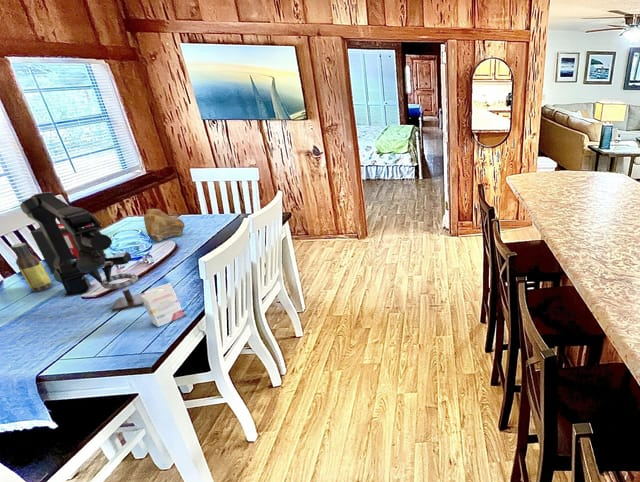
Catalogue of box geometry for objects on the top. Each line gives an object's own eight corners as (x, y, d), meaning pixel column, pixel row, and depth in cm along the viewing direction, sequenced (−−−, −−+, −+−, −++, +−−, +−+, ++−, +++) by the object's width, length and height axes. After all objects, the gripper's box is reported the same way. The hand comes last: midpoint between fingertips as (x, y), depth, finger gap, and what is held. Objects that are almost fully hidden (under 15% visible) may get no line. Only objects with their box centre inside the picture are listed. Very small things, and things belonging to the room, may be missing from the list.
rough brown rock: (187, 241, 207) (181, 214, 202) (146, 246, 198) (140, 218, 192) (186, 229, 224) (181, 204, 219) (149, 232, 215) (142, 206, 210)
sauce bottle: (57, 284, 164) (35, 241, 155) (43, 292, 158) (19, 248, 150) (41, 284, 163) (19, 241, 155) (26, 292, 158) (2, 248, 149)
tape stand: (112, 311, 147) (106, 297, 144) (119, 299, 154) (113, 286, 152) (142, 305, 151) (137, 292, 148) (147, 294, 158) (142, 281, 155)
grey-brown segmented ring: (97, 291, 142) (96, 287, 141) (107, 279, 150) (105, 274, 149) (134, 287, 146) (133, 282, 145) (141, 275, 155) (140, 270, 154)
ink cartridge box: (178, 312, 147) (165, 278, 141) (184, 316, 145) (172, 282, 139) (151, 323, 141) (137, 288, 134) (157, 327, 138) (143, 292, 132)
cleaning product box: (51, 273, 172) (30, 232, 163) (63, 264, 179) (44, 224, 171) (97, 268, 177) (79, 228, 168) (107, 260, 184) (90, 221, 176)
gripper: (43, 258, 129) (63, 298, 135) (115, 248, 137) (130, 286, 143) (57, 245, 138) (75, 283, 144) (123, 237, 146) (138, 273, 152)
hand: (105, 282), depth 146 cm, fingers closed on grey-brown segmented ring, 2 cm apart
